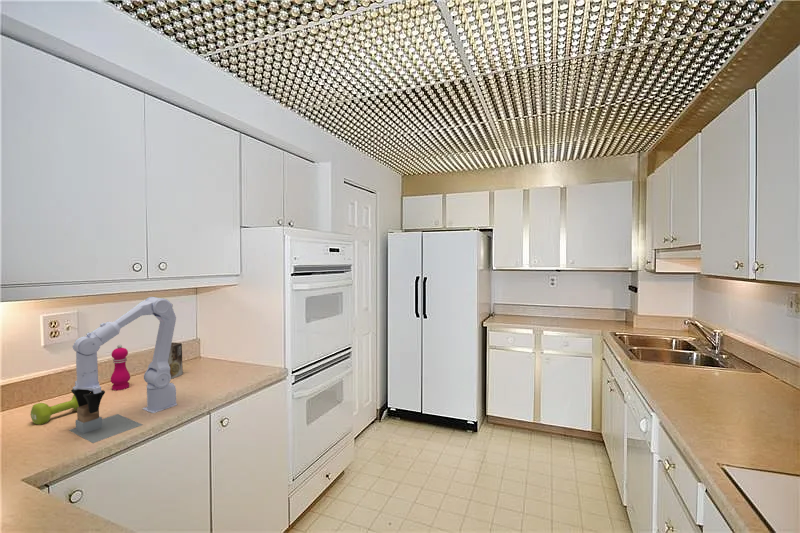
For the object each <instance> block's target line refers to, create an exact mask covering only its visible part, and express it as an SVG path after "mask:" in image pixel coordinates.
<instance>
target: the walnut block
mask: <svg viewBox="0 0 800 533" xmlns="http://www.w3.org/2000/svg"><path fill="white" fill-rule="evenodd" d="M76 414H77V416H76V417H77V419H76V420H78V421H81V422H83V423H85V422H88V421H91V420H94V419H97V418H99V417H100V408H99V409H98V411H97V412H94V413H90V412H89V408H88V404H87V405H83V406H80V407H77V411H76Z"/></svg>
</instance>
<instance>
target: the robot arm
mask: <svg viewBox="0 0 800 533" xmlns="http://www.w3.org/2000/svg"><path fill="white" fill-rule="evenodd" d="M173 307H174V306H173V303H172V302H170V301H169V300H168V299H167V298H162V297H161V298H160V297H157V296H149V297H147V298H146V299H145V300H142V301H140V302H139V303H138V304H137V305H134V307H132V308H130V309H129V310H128V311H127V312H125V313H124V314H122V315H121V316H120V317H118V318H116V319H115V320H114V321H106V322H101V323H100V324H99V326H98V327H97V328H96V329H94V330H92V331H91V332H87V333H86V335H84V336H81V337H78V338H76V340H75V342H74V343H73V345H72V350H74V352H76V353H75V358H76V359H75V369H76V380H75V381H74V386H73V387H72V389H71V390H70V391H71V393H72V394H73V395H75V397H76V399H77V402H78V405H79V407H80V406H83V405H87V404H88V408H89V412H90V413H94V412H97V411H98V409H99V410H100V404H101V401H102V398H103V397H104V395H105V393H106V390H103V389H102V386H100V381H99V369H98V368H99V365H98V352H99V350H100V349H101V346H103V345H104V344H106V343H107V342H109V341H110V340H112V339H113V338H114V337H116V336H118V335H120V333H121V332H120V331H121V329H122V328H124V327H125V326H127V325H129V324H130V323H132V322H134V321H135V320H137V319H138V318H140V317H142V316H151V315H152V316H154V317H155V318H156V319H157V320H158V321H159V324H158V330H157V334H156V335H157V336H156V340H155V345H154V350H153V357H152V361H151V362H150V363H149V364H148V367H147V370H146V371H145V372H144V374H143V380H144V381H145V383H146V384H147V385H146V407H142V410H144V411H146V412H148V413H151V414H155V413H158V412H162V411H164V410H166V409H170V408H172V407H175V406H178V403H177V388H176V385H175V384H174V383H173V382H171V380H172V379H171V375H170V366H169V364H168V359H169V353H170V348H171V343H172V341H173V337H174V332H175V328H176V327H175V326H176V321H177V316H176V313H175V311H174V308H173Z"/></svg>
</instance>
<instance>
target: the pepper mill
mask: <svg viewBox="0 0 800 533" xmlns="http://www.w3.org/2000/svg"><path fill="white" fill-rule="evenodd" d="M128 355H129V351H128V349H127V348H125V347H123V345H122V344H117V346H116V348H115V349H113V350H112V352H111V357H112V358H113V359H112V360H113V361H112V363H114V369H113V372H112V373H111V376H110V383H111V384H112V386H111V389H112V391H122V390H126V389H128V388H129V387H130V382H129V381H130V380H131V374H130V372H129V371H128V369H127V365H126V363H127V361H128V358H127V356H128Z"/></svg>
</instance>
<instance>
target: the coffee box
mask: <svg viewBox="0 0 800 533" xmlns="http://www.w3.org/2000/svg"><path fill="white" fill-rule="evenodd" d="M168 364H169V366H170V375H171V380H173V379H174V378H177V377H180V376H182V375H184V373H183V372H184V371H183V366H184V365H183V344H182V343H181V342H172V343H171V348H170V353H169V359H168Z"/></svg>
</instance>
